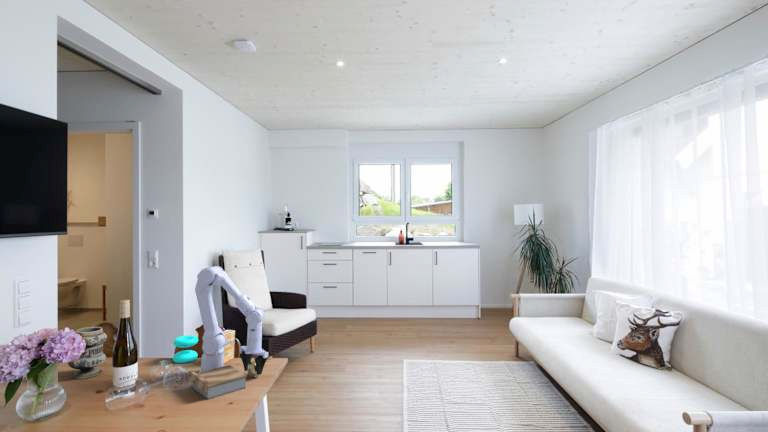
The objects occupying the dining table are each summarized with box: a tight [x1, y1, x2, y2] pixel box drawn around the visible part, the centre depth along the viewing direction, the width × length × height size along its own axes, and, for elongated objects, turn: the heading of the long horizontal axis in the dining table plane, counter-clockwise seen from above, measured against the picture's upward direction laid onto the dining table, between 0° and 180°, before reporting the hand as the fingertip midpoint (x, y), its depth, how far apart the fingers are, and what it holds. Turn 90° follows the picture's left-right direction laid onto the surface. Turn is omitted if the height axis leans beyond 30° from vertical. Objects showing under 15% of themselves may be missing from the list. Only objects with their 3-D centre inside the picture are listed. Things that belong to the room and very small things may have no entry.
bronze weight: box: [246, 361, 260, 379], centre depth 155 cm, size 4×4×5 cm
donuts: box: [172, 334, 199, 364], centre depth 171 cm, size 10×10×10 cm
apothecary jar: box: [67, 326, 108, 380], centre depth 152 cm, size 12×12×18 cm
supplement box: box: [222, 329, 236, 365], centre depth 171 cm, size 8×5×13 cm, turn 168°
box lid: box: [188, 364, 248, 392], centre depth 142 cm, size 14×16×3 cm
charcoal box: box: [191, 377, 247, 400], centre depth 143 cm, size 14×14×4 cm
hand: (253, 372), depth 155 cm, fingers open, 7 cm apart
